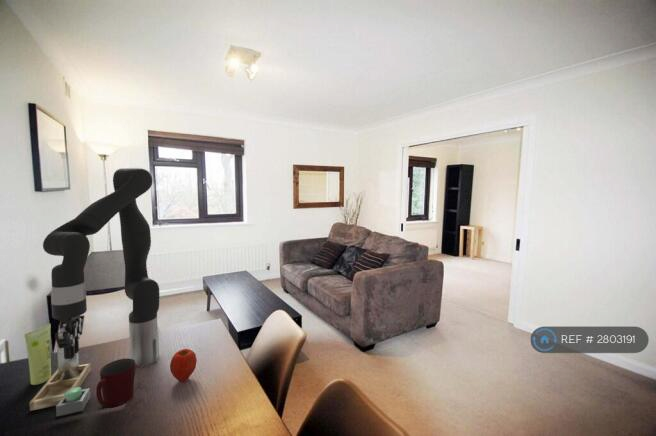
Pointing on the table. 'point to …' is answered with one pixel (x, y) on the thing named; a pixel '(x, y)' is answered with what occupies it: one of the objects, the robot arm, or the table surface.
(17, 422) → the table surface
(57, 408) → the grey square dish
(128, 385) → the mug
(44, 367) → the tube
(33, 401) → the wooden compartment tray
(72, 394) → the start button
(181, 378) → the apple
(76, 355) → the seated billet
